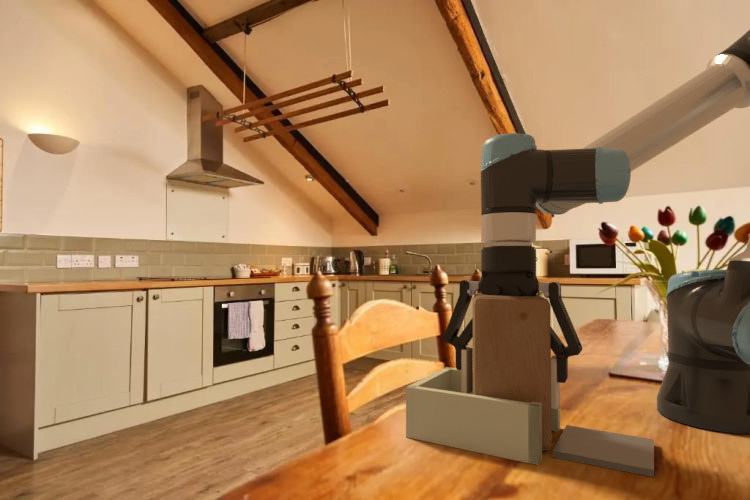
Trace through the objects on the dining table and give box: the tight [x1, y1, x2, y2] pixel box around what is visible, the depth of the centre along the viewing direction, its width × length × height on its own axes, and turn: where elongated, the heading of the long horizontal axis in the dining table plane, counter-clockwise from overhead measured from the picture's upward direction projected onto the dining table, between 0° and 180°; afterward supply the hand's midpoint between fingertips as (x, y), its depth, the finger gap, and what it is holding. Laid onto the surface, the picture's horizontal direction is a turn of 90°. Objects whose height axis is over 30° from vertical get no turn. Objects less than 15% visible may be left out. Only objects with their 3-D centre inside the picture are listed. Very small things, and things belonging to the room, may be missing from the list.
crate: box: [405, 366, 561, 466], centre depth 68 cm, size 18×15×7 cm
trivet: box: [552, 424, 655, 478], centre depth 61 cm, size 11×11×1 cm
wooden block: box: [472, 292, 552, 452], centre depth 66 cm, size 10×10×20 cm
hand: (509, 399), depth 66 cm, fingers closed on wooden block, 12 cm apart
